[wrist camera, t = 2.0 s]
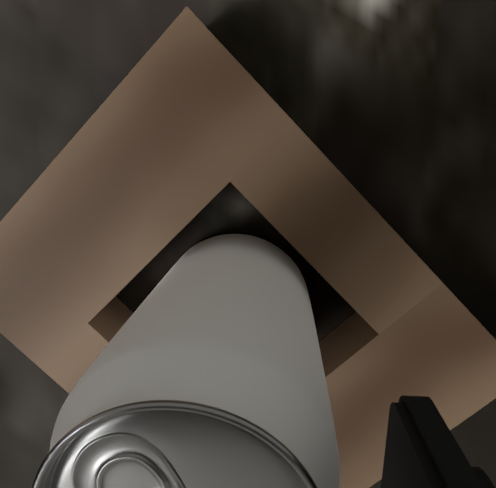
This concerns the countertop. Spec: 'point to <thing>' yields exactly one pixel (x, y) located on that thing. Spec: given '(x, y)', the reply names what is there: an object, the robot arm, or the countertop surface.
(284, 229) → the well board
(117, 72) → the countertop surface
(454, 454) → the robot arm
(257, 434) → the can
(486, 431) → the countertop surface
